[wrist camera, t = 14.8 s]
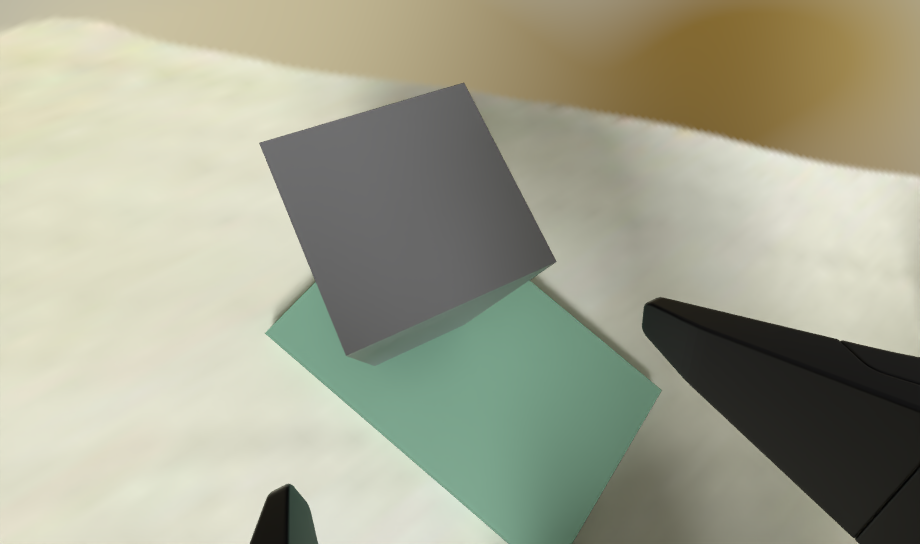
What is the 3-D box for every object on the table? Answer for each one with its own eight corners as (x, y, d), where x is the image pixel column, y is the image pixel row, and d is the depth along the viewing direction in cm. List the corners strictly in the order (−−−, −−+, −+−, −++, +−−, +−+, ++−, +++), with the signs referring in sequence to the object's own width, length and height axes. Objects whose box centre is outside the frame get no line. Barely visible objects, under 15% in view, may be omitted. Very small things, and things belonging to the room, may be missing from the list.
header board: (650, 389, 23) (694, 392, 20) (543, 570, 20) (573, 610, 16) (412, 191, 24) (415, 160, 20) (270, 335, 20) (246, 327, 17)
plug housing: (463, 324, 21) (556, 261, 9) (374, 366, 20) (345, 356, 8) (425, 241, 22) (464, 82, 10) (337, 276, 21) (258, 143, 9)
